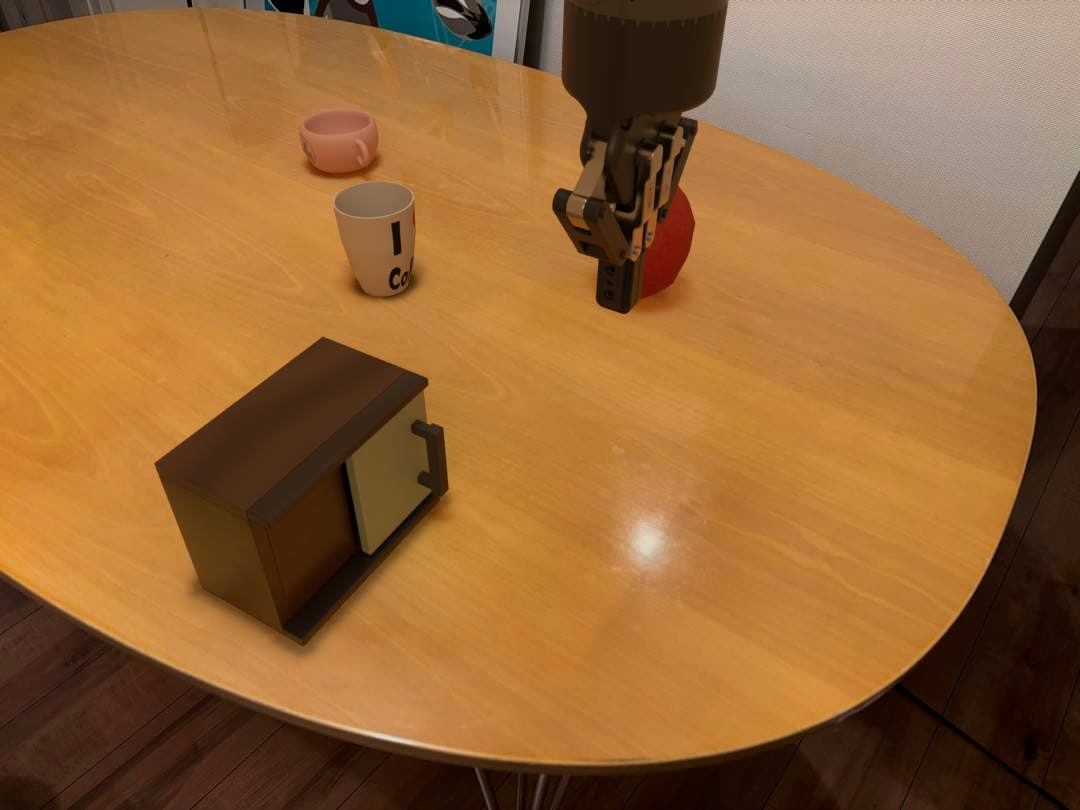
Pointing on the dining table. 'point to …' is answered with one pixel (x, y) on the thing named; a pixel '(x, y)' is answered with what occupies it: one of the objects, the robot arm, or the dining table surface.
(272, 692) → the dining table surface
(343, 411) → the cabinet
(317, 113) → the mug
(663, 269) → the apple
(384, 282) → the cup
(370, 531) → the door
